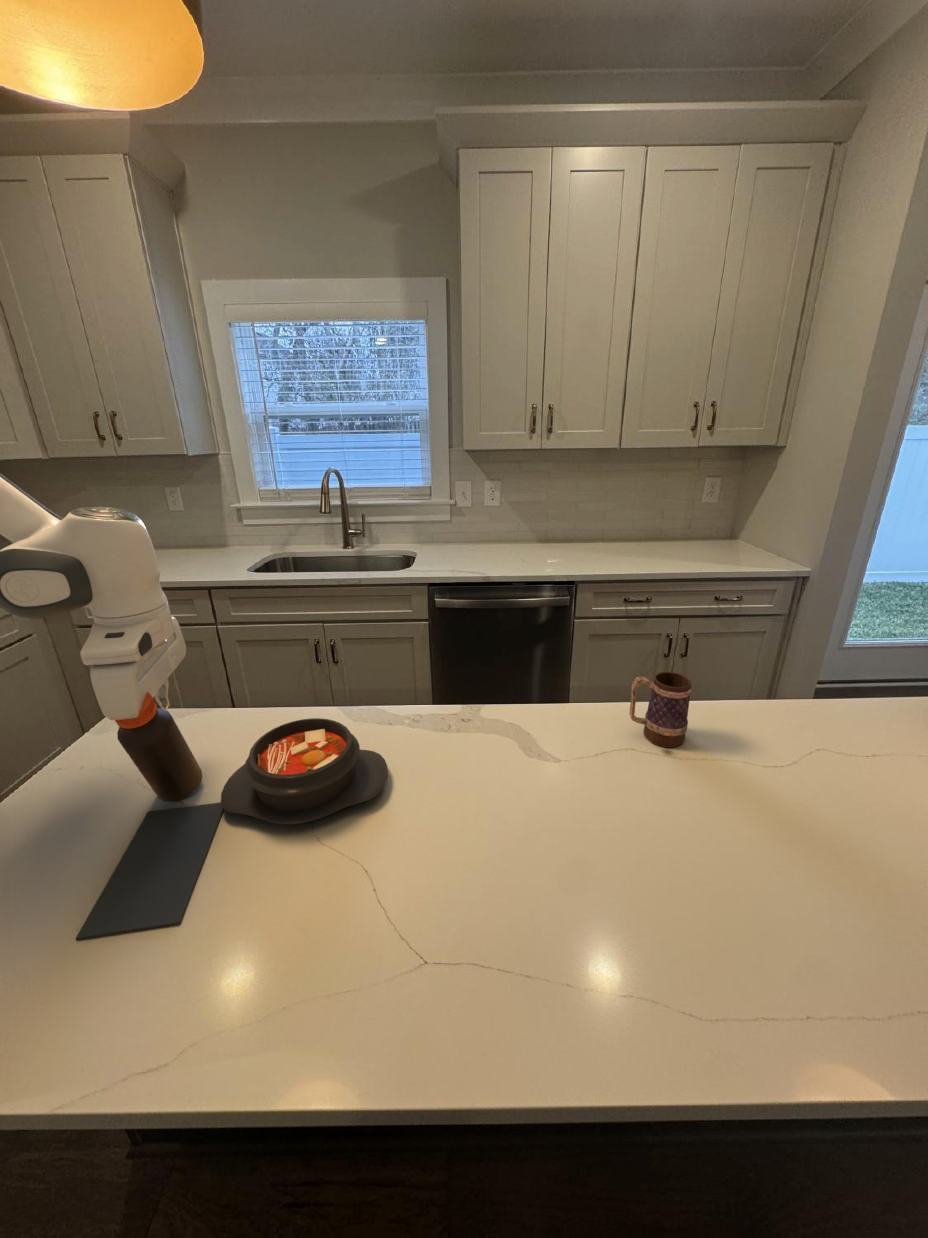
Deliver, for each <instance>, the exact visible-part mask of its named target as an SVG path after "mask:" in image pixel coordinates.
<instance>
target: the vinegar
mask: <svg viewBox="0 0 928 1238" xmlns="http://www.w3.org/2000/svg"><path fill="white" fill-rule="evenodd" d="M114 722H115V723H116V725H117V726H118V730H117V732H116V733H117V735H116V736H117V741H118V743H120V745H121V746H122V748H123V749H124V751H125V752H126V754H127V755H128V756H129V758H130V759H131V761H132V762H133V764H134V766H135V767H136V768H137V770H138V771H139V772H140V774H141V775H142V776H143V778H144V779H145V781H146V783H148V785H149V787H150V788H151V789H152V791H153V792H154V793H155V795H156V796H157V798H158V799H160V800H161V801H163V802H169V803H175V802H180V801H182V800H185V799H187V798H188V797H190V796H191V795H193V794H194V793H195V792H196V791H197V789H198V788H199V787H200V785H201V783H202V780H203V772H202V769H201V767H200V765H199V763H198V761H197V759H196V758H195V756H194V754H193V752H192V750H191V748H190V746H189V745H188V743H187V741H186V739H185V737H184V736H183V733H182V732H181V730H180V728H179V727H178V724H177V723H176V721H175V719H174V718H173V716H172V714H171V713H170V712H169V711H168V710H167V709H166V710H165V709H163V708H159V707H157V705H156V703H155V701H154V700H153V698H152V696H151V694H150V693H149V692H147V694H146V696H145V699H144V702H143V704H142V707H141V710H140V712H139V715H138V717H136V718H133V719H123V720H114Z"/></svg>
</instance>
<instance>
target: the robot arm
mask: <svg viewBox="0 0 928 1238" xmlns="http://www.w3.org/2000/svg"><path fill="white" fill-rule="evenodd" d="M0 536H2V537H3V538H5V539H7V540H8V541H9V542H10V543H11V544H9V545H7V546H5V547H4V548H2V549H0V609H2V610H3V611H4V612H7V613H9V614H11V615H12V616H16V617H19V618H23V619H30V620H40V619H45V618H46V619H47V618H50V617H55V616H59V615H63V614H66V613H71V612H74V611H77V610H79V609H82V608H85V609H88V610H90V612H91V615H92V618H93V622H94V623H93V624H92V625H91V628H90V631H89V635H88V637H87V639H86V641H85V642H84V644H83V645H82V648H81V649H80V659H81V662H82V663H83V665H84V666H91V668H90V672H89V673H90V674H89V675H90V676H89V677H90V681H91V685H92V689H93V692H94V695H95V698H96V700H97V703H98V705H99V708H100V711H101V713H102V714H103V716H104V717H106V718H107V719H108V720H110V721H115V720H123V719H133V718H136V717H138V715H139V712H140V710H141V707H142V704H143V702H144V699H145V696H146V694H147V692H149V693H150V694H151V696H152V698H153V700H154V701H155V703H156V705H157V707H159V708H163V709H165V710H167V709H168V708H169V707H170V705H171V704H170V700H169V684H170V683H169V677H171V675H172V674H173V673H174V671H175V670H176V669H177V667H178V666H179V665H180V663H181V662H182V661H183V660H184V659H185V657H186V656H187V646H186V645H187V644H186V641H185V638H184V635H183V632H182V629H181V626H180V623H179V622H178V620H177V618H176V617H175V616H172V613H171V610H170V604H169V600H168V598H167V595H166V594H165V592H164V590H163V588H162V586H161V583H160V582H161V580H160V576H161V569H160V565H159V560H158V558H157V554H156V551H155V548H154V545H153V541H152V538H151V536H150V534H149V531H148V528H147V527H146V525H145V523H144V521H143V520H142V519H141V518H140V517H139V516H138V515H137V514H134V513H133V512H131V511H129V510H126V509H122V508H118V507H110V506H85V507H77V508H75V509H72V510H70V511H69V512H68V513H67V515H65V517H64V516H61V515H59V514H57V513H56V512H54V511H52V510H50V509H49V508H48V507H46V506H45V505H44V504H42V503H41V502H40V501H38V500H37V499H36V498H34V497H33V496H31V495H30V494H29V493H27V492H26V491H25V490H24V489H22V487H20V486H18V485H17V484H15V483H14V482H13V481H11V480H10V479H9V478H8V477H6V476H5V475H4V474H2V473H0Z"/></svg>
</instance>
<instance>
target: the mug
mask: <svg viewBox="0 0 928 1238" xmlns="http://www.w3.org/2000/svg"><path fill="white" fill-rule="evenodd" d="M642 684H646V685H647V687H648V688H649V689H650V695H649V699H648V704H647V705H648V706H647V710H646V712H645V715H644V717H639V716H636V715H635V713H636V712H635V711H636V702H637V690H638V688H639V686H641V685H642ZM630 687H631V692H630V693H631V694H630V695H631V696H630V704H629V714H628V715H629V717H630V719H631V721H632V722H634V723H636V724H639V725H644V726H643V735H644V737H645V738H646V739H647V740H648V741H649V742H650V743H652V744H655V745H656V746H659V747H663V748H675V747H679V746H681V745H683V744H684V742H685V740H686V733H687V730H688V726H689V720H688V716H689V715H688V714H689V706H690V698H691V694H692V681H691V680H690V679H689V678H688V676H686V675H683V674H681V673H680V672H679V673H678V672H675V671H661V672H658V673H656V674H654V676H653V679H652V682H651V680H650V679H649V678H647V677H645V676H641V675H639V676H638V677H635V678H634V680H633V682H632V684H631V686H630Z"/></svg>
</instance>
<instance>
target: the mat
mask: <svg viewBox="0 0 928 1238" xmlns="http://www.w3.org/2000/svg"><path fill="white" fill-rule="evenodd" d="M224 811H225V809H224V808H223V807H222V804H221V801H220V802H212V803H205V804H196V805H188V806H180V807H172V808H171V807H170V808H165V809H156V810H148V811H147V812H146V814H145V816H144V817H143V819H142V821H141V822H140V825H139V827H138V828H137V830H136V832H135V833H134V835H133V837H132V839H131V840H130V842H129V844H128V845H127V848H126V849H125V851H124V853H123V854H122V856H121V858H120V859H119V861H118V863H117V865H116V867H115V868H114V870H113V871H112V874H111V875H110V877H109V879H108V881H107V882H106V884H105V886H104V887H103V889H102V891H101V893H100V895H99V896H98V898H97V900H96V901H95V903H94V905H93V907H92V909H91V910H90V912H89V914H88V916H87V917H86V919H85V921H84V922H83V924H82V926H81V928H80V929H79V931H78V933H77V934H76V936H75V940H76V941H82V940H88V939H94V938H95V939H96V938H101V937H107V936H113V935H114V936H115V935H120V934H127V933H135V932H139V931H146V930H153V929H159V928H166V927H167V928H168V927H172V926H173V927H174V926H180V925H181V924H182V921H183V919H184V917H185V914H186V911H187V909H188V907H189V903H190V901H191V898H192V895H193V893H194V890H195V887H196V885H197V882H198V880H199V876H200V874H201V871H202V869H203V866H204V864H205V861H206V859H207V856H208V853H209V850H210V849H211V845H212V843H213V840H214V837H215V835H216V833H217V831H218V827H219V824H220V823H221V819H222V817H223V814H224Z"/></svg>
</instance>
